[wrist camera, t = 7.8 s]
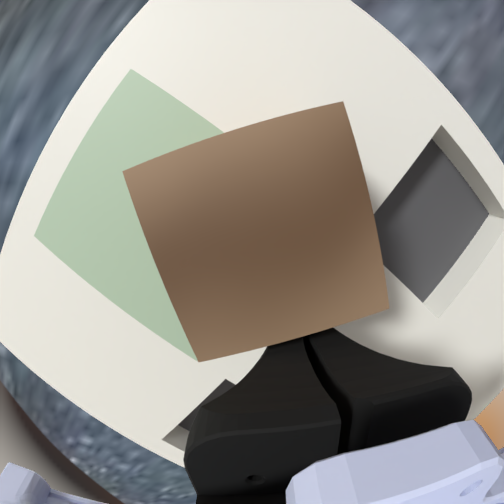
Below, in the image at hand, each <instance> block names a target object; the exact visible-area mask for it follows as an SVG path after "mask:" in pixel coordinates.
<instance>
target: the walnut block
mask: <svg viewBox="0 0 504 504" xmlns="http://www.w3.org/2000/svg"><path fill="white" fill-rule="evenodd" d="M122 172H123V175H124V178H125V181H126V184H127V187H128V190H129V193H130V196H131V199H132V202H133V205H134V208H135V211H136V214H137V216H138V219H139V222H140V225H141V227H142V230H143V233H144V236H145V238H146V241H147V243H148V246H149V249H150V251H151V254H152V256H153V259H154V262H155V264H156V267H157V269H158V272H159V274H160V277H161V279H162V281H163V284H164V286H165V289H166V291H167V293H168V296H169V298H170V301H171V303H172V305H173V307H174V310H175V312H176V314H177V317H178V319H179V321H180V323H181V326H182V328H183V330H184V332H185V334H186V337H187V339H188V341H189V343H190V345H191V347H192V350H193V352H194V354H195V356H196V358H197V360H198V362H204V361H208V360H213V359H217V358H222V357H226V356H230V355H234V354H239V353H243V352H247V351H251V350H255V349H259V348H263V347H266V346H270V345H274V344H278V343H281V342H285V341H289V340H292V339H296V338H299V337H303V336H306V335H310V334H313V333H316V332H320V331H323V330H326V329H329V328H333V327H336V326H339V325H342V324H345V323H348V322H351V321H354V320H357V319H360V318H363V317H366V316H369V315H372V314H375V313H378V312H381V311H384V310H387V309H389V300H388V293H387V286H386V279H385V273H384V266H383V260H382V255H381V249H380V244H379V238H378V233H377V228H376V223H375V218H374V214H373V209H372V205H371V200H370V196H369V191H368V187H367V183H366V179H365V175H364V171H363V167H362V163H361V160H360V156H359V152H358V149H357V145H356V142H355V138H354V135H353V131H352V128H351V125H350V121H349V118H348V115H347V112H346V109H345V105H344V102H343V101H342V102H337V103H332V104H328V105H323V106H319V107H315V108H311V109H307V110H302V111H298V112H295V113H291V114H287V115H283V116H279V117H276V118H272V119H269V120H265V121H261V122H258V123H255V124H251V125H248V126H245V127H241V128H238V129H235V130H232V131H229V132H226V133H222V134H219V135H216V136H213V137H210V138H207V139H205V140H202V141H199V142H196V143H193V144H190V145H188V146H185V147H182V148H179V149H177V150H174V151H171V152H169V153H166V154H164V155H161V156H158V157H156V158H153V159H151V160H148V161H146V162H143V163H141V164H139V165H136V166H134V167H131V168H129V169H127V170H124V171H122Z"/></svg>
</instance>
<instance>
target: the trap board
mask: <svg viewBox="0 0 504 504" xmlns="http://www.w3.org/2000/svg"><path fill="white" fill-rule="evenodd" d="M342 101H343V102H344V105H345V109H346V112H347V115H348V118H349V121H350V125H351V128H352V131H353V135H354V138H355V142H356V145H357V149H358V152H359V156H360V160H361V163H362V167H363V171H364V175H365V179H366V183H367V187H368V191H369V196H370V200H371V205H372V209H373V214H374V218H375V223H376V228H377V233H378V238H379V244H380V249H381V255H382V260H383V266H384V273H385V279H386V286H387V293H388V300H389V309H387V310H384V311H381V312H378V313H375V314H372V315H369V316H366V317H363V318H360V319H357V320H354V321H351V322H348V323H345V324H342V325H339V326H336V327H333V328H335V329H336V330H337V331H339V332H340V333H342V334H343V335H345V336H347V337H348V338H350V339H352V340H353V341H355V342H357V343H359V344H361V345H363V346H365V347H367V348H369V349H372V350H374V351H376V352H379V353H381V354H384V355H387V356H390V357H393V358H396V359H400V360H404V361H408V362H413V363H418V364H424V365H432V366H443V367H452V368H453V369H454V370H455V371H456V372H457V373H458V374H459V375H460V377H461V378H462V379H463V380H464V381H465V383H466V384H467V385H468V386H469V388H470V390H471V392H472V403H471V406H470V410H469V412H468V415H467V417H466V420H465V421H467V420H474V419H475V418H476V417H477V416H478V415H479V414H480V413H481V412H482V411H483V410H484V409H485V408H486V407H487V406H488V405H489V404H490V403H491V402H492V400H493V399H494V398H495V397H496V396H497V395H498V394H499V393H500V392H501V391H502V390H503V388H504V165H503V163H502V162H501V160H500V158H499V157H498V155H497V154H496V152H495V151H494V149H493V148H492V146H491V145H490V144H489V142H488V141H487V139H486V138H485V136H484V135H483V134H482V132H481V131H480V130H479V128H478V127H477V126H476V124H475V123H474V122H473V120H472V119H471V118H470V116H469V115H468V114H467V113H466V111H465V110H464V109H463V108H462V106H461V105H460V104H459V103H458V102H457V100H456V99H455V98H454V97H453V96H452V94H451V93H450V92H449V91H448V90H447V89H446V88H445V86H444V85H443V84H442V83H441V82H440V81H439V80H438V79H437V78H436V77H435V75H434V74H433V73H432V72H431V71H430V70H429V69H428V68H427V67H426V66H425V65H424V64H423V63H422V62H421V61H420V60H419V59H418V58H417V57H416V56H415V55H414V54H413V53H412V52H411V51H410V50H409V49H408V48H407V47H406V46H405V45H403V44H402V43H401V42H400V41H399V40H398V39H397V38H396V37H395V36H394V35H392V34H391V33H390V32H389V31H388V30H387V29H386V28H384V27H383V26H382V25H381V24H380V23H378V22H377V21H376V20H375V19H374V18H372V17H371V16H370V15H369V14H367V13H366V12H365V11H363V10H362V9H361V8H360V7H358V6H357V5H356V4H354V3H353V2H352V1H350V0H149V2H148V3H147V4H146V5H145V6H144V7H143V8H142V9H141V10H140V11H139V12H138V13H137V14H136V16H135V17H134V18H133V19H132V20H131V21H130V22H129V24H128V25H127V26H126V27H125V28H124V29H123V31H122V32H121V33H120V34H119V35H118V37H117V38H116V39H115V40H114V42H113V43H112V44H111V45H110V47H109V48H108V49H107V50H106V52H105V53H104V54H103V56H102V57H101V58H100V60H99V61H98V62H97V64H96V65H95V66H94V68H93V69H92V71H91V72H90V73H89V75H88V76H87V78H86V79H85V81H84V82H83V84H82V85H81V87H80V88H79V90H78V91H77V93H76V94H75V96H74V97H73V99H72V100H71V102H70V104H69V105H68V107H67V109H66V110H65V112H64V113H63V115H62V117H61V119H60V120H59V122H58V124H57V125H56V127H55V129H54V131H53V133H52V134H51V136H50V138H49V140H48V142H47V144H46V146H45V147H44V149H43V151H42V153H41V155H40V157H39V159H38V161H37V163H36V165H35V167H34V170H33V172H32V174H31V176H30V178H29V180H28V183H27V185H26V187H25V189H24V192H23V194H22V196H21V199H20V201H19V204H18V206H17V209H16V211H15V214H14V216H13V219H12V222H11V224H10V227H9V230H8V233H7V236H6V239H5V242H4V245H3V248H2V251H1V254H0V342H1V343H2V344H3V345H4V346H5V347H6V348H7V349H8V350H10V351H11V352H12V353H13V354H14V355H15V356H16V357H17V358H18V359H19V360H21V361H22V362H23V363H24V364H25V365H26V366H27V367H29V368H30V369H31V370H32V371H33V372H34V373H36V374H37V375H38V376H39V377H40V378H42V379H43V380H44V381H45V382H47V383H48V384H49V385H50V386H52V387H53V388H54V389H55V390H57V391H58V392H59V393H61V394H62V395H63V396H65V397H66V398H67V399H69V400H70V401H72V402H73V403H74V404H76V405H77V406H79V407H80V408H81V409H83V410H84V411H86V412H87V413H89V414H90V415H92V416H93V417H95V418H96V419H98V420H99V421H101V422H102V423H104V424H105V425H107V426H109V427H110V428H112V429H113V430H115V431H117V432H118V433H120V434H122V435H123V436H125V437H127V438H129V439H130V440H132V441H134V442H136V443H137V444H139V445H141V446H143V447H145V448H146V449H148V450H150V451H152V452H154V453H156V454H158V455H160V456H162V457H164V458H166V459H168V460H170V461H172V462H174V463H176V464H178V465H180V466H182V467H184V468H185V466H184V461H183V458H184V453H185V448H186V442H187V438H188V434H189V432H190V429H191V426H192V424H193V421H194V419H195V417H196V414H197V412H198V410H199V408H200V407H201V406H203V405H205V404H207V403H208V402H210V401H212V400H214V399H215V398H217V397H219V396H221V395H222V394H224V393H225V392H227V391H228V390H230V389H231V388H232V387H234V386H235V385H236V384H237V383H238V382H240V381H241V380H242V379H243V378H244V377H245V376H246V375H247V373H248V372H249V371H250V370H251V369H252V368H253V367H254V365H255V364H256V363H257V362H258V360H259V359H260V357H261V356H262V354H263V353H264V351H265V349H266V347H267V346H266V347H263V348H259V349H255V350H251V351H247V352H243V353H239V354H234V355H230V356H226V357H222V358H217V359H213V360H208V361H204V362H198V360H197V358H196V356H195V354H194V352H193V350H192V347H191V345H190V343H189V341H188V339H187V337H186V334H185V332H184V330H183V328H182V326H181V323H180V321H179V319H178V317H177V314H176V312H175V310H174V307H173V305H172V303H171V301H170V298H169V296H168V293H167V291H166V289H165V286H164V284H163V281H162V279H161V277H160V274H159V272H158V269H157V267H156V264H155V262H154V259H153V256H152V254H151V251H150V249H149V246H148V243H147V241H146V238H145V236H144V233H143V230H142V227H141V225H140V222H139V219H138V216H137V214H136V211H135V208H134V205H133V202H132V199H131V196H130V193H129V190H128V187H127V184H126V181H125V178H124V175H123V172H122V171H124V170H127V169H129V168H131V167H134V166H136V165H139V164H141V163H143V162H146V161H148V160H151V159H153V158H156V157H158V156H161V155H164V154H166V153H169V152H171V151H174V150H177V149H179V148H182V147H185V146H188V145H190V144H193V143H196V142H199V141H202V140H205V139H207V138H210V137H213V136H216V135H219V134H222V133H226V132H229V131H232V130H235V129H238V128H241V127H245V126H248V125H251V124H255V123H258V122H261V121H265V120H269V119H272V118H276V117H279V116H283V115H287V114H291V113H295V112H298V111H302V110H307V109H311V108H315V107H319V106H323V105H328V104H332V103H337V102H342Z"/></svg>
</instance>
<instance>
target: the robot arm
mask: <svg viewBox="0 0 504 504" xmlns="http://www.w3.org/2000/svg"><path fill="white" fill-rule="evenodd" d="M471 403H472V392H471V390H470V388H469V386H468V385H467V384H466V383H465V381H464V380H463V379H462V378H461V377H460V375H459V374H458V373H457V372H456V371H455V370H454V369H453V368H452V367H443V366H432V365H424V364H418V363H413V362H408V361H404V360H400V359H396V358H393V357H390V356H387V355H384V354H381V353H379V352H376V351H374V350H372V349H369V348H367V347H365V346H363V345H361V344H359V343H357V342H355V341H353V340H352V339H350V338H348V337H347V336H345V335H343V334H342V333H340V332H339V331H337V330H336V329H335V328H329V329H326V330H323V331H320V332H316V333H313V334H310V335H306V336H303V337H299V338H296V339H292V340H289V341H285V342H281V343H278V344H274V345H270V346H267V347H266V349H265V351H264V353H263V354H262V356H261V357H260V359H259V360H258V362H257V363H256V364H255V365H254V367H253V368H252V369H251V370H250V371H249V372H248V373H247V375H246V376H245V377H244V378H243V379H242V380H241V381H240V382H238V383H237V384H236V385H235V386H234V387H232V388H231V389H230V390H228V391H227V392H225V393H224V394H222V395H221V396H219V397H217V398H215V399H214V400H212V401H210V402H208V403H207V404H205V405H203V406H201V407H200V408H199V410H198V412H197V414H196V417H195V419H194V421H193V424H192V426H191V429H190V432H189V434H188V438H187V442H186V448H185V453H184V458H183V461H184V466H185V469H186V471H187V474H188V476H189V478H190V480H191V482H192V485H193V487H194V489H195V491H196V493H197V500H196V504H504V448H502V449H500V450H498V449H497V448H496V446H495V445H494V443H493V442H492V441H491V439H490V438H489V436H488V435H487V434H486V432H485V431H484V429H483V428H482V427H481V426H480V425H479V424H478V423H477V422H476V421H474V420H467V421H465V420H466V417H467V415H468V412H469V410H470V406H471ZM0 504H107V503H102V502H98V501H93V500H89V499H85V498H82V497H78V496H74V495H71V494H67V493H64V492H60V491H57V490H54V489H51V488H50V486H49V485H48V483H47V482H46V481H45V479H43V478H42V477H41V476H40V475H39V474H37V473H36V472H34V471H32V470H30V469H27V468H24V467H21V466H19V465H16V464H14V463H11V462H8V464H7V465H6V467H5V468H4V470H3V472H2V473H1V475H0Z"/></svg>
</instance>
